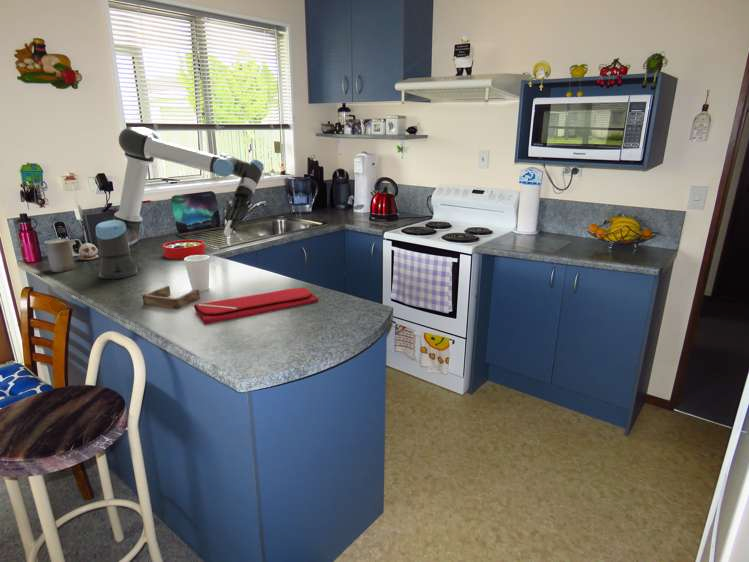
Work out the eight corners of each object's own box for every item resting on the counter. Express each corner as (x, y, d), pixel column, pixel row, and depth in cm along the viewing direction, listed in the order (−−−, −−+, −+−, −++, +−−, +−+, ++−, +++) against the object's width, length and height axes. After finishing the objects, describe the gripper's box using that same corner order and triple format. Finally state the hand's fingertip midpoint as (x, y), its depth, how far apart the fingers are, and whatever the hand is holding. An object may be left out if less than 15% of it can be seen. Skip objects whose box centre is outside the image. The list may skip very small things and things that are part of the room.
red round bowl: (199, 238, 260) (207, 245, 243) (201, 248, 262) (209, 256, 245) (160, 242, 250) (165, 250, 234) (161, 253, 252) (167, 261, 236)
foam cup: (217, 286, 195) (214, 256, 191) (202, 293, 187) (199, 261, 183) (198, 284, 198) (194, 254, 194) (182, 291, 190) (178, 259, 186)
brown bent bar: (168, 294, 186) (166, 285, 185) (200, 298, 181) (199, 289, 180) (143, 304, 175) (142, 295, 174) (177, 309, 170) (175, 299, 169)
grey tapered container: (77, 265, 228) (71, 234, 224) (72, 271, 219) (65, 238, 215) (54, 267, 225) (47, 236, 221) (47, 273, 217) (40, 240, 212)
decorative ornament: (84, 261, 236) (78, 231, 232) (78, 259, 241) (72, 229, 236) (101, 258, 242) (95, 229, 237) (95, 256, 247) (89, 227, 242)
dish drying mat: (318, 303, 177) (318, 293, 176) (205, 326, 156) (204, 316, 155) (301, 292, 190) (301, 283, 189) (194, 312, 169) (193, 302, 168)
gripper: (261, 195, 214) (243, 240, 204) (237, 195, 219) (218, 238, 209) (253, 185, 208) (234, 230, 198) (228, 184, 213) (208, 228, 203)
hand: (226, 234), depth 204 cm, fingers closed
